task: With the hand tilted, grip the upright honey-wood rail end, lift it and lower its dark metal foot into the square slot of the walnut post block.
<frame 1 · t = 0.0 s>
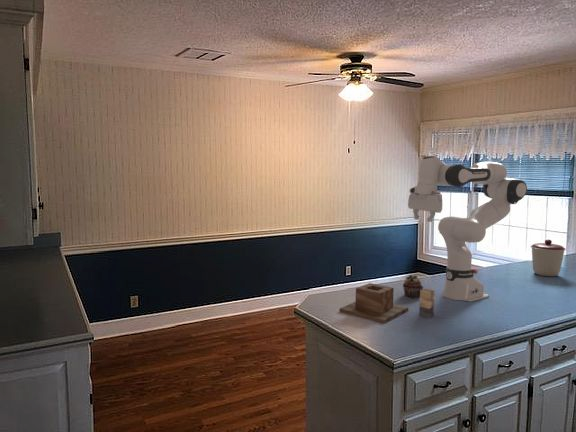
hand: (422, 220, 214), 39 cm above the counter, tool pointing down, fingers open, 8 cm apart
post block: (374, 311, 205), on the counter
rail end: (426, 315, 200), on the counter
canister: (545, 274, 274), on the counter
cupcake: (412, 296, 228), on the counter
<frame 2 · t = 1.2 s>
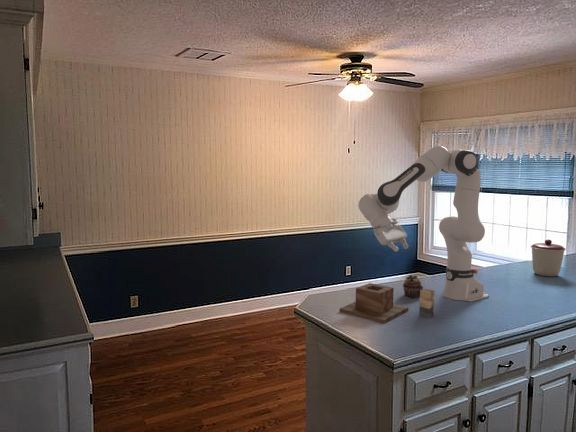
hand: (402, 249, 204), 27 cm above the counter, tool tilted 45°, fingers open, 8 cm apart
nothing on the counter moved.
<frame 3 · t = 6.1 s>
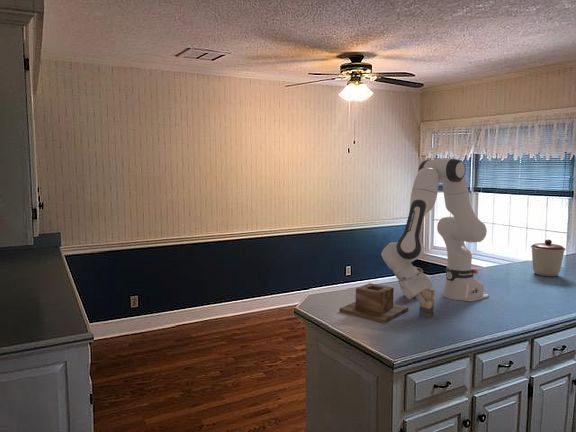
hand: (428, 301, 199), 6 cm above the counter, tool tilted 45°, fingers closed on rail end, 4 cm apart
rail end: (426, 315, 200), on the counter, touching gripper
everything else where it was.
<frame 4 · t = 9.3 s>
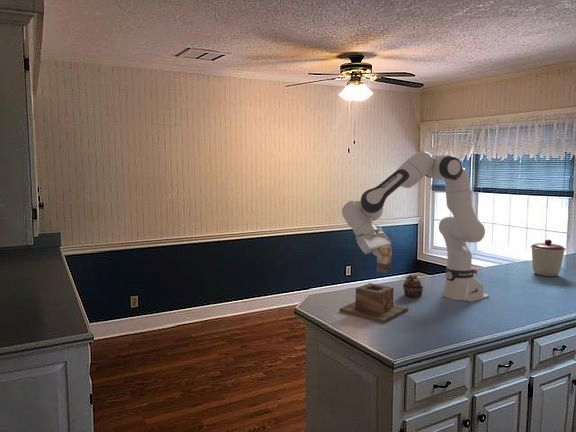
hand: (385, 257, 200), 24 cm above the counter, tool tilted 45°, fingers closed on rail end, 4 cm apart
rail end: (383, 271, 201), point 18 cm above the counter, touching gripper
everything else where it was.
when the fingers open (12 cm above the counter, at t = 12.5 s): rail end drops 1 cm, resting on post block.
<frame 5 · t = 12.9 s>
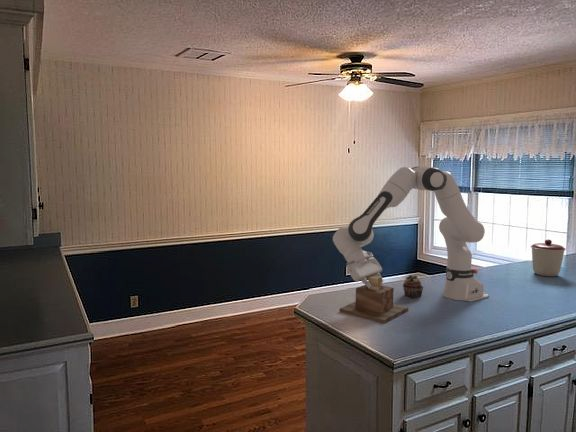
hand: (376, 284, 203), 12 cm above the counter, tool tilted 45°, fingers open, 8 cm apart
rail end: (374, 301, 204), point 5 cm above the counter, touching post block
everything else where it was.
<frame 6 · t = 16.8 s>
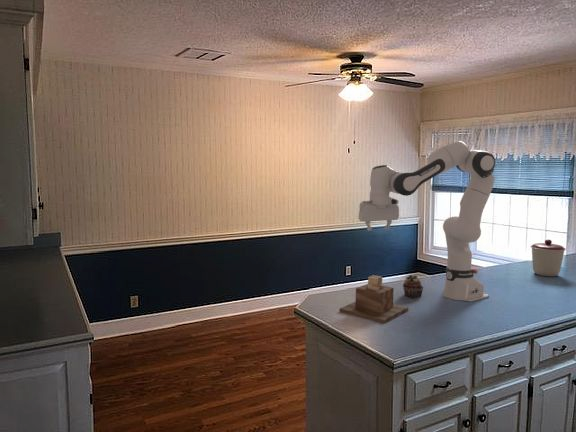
hand: (378, 230, 215), 34 cm above the counter, tool pointing down, fingers open, 8 cm apart
nothing on the counter moved.
at the end: rail end 0.1 cm off-centre on the post block, point 4.5 cm above the post block's base; rail end tilted 0°; the gripper is holding nothing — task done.
